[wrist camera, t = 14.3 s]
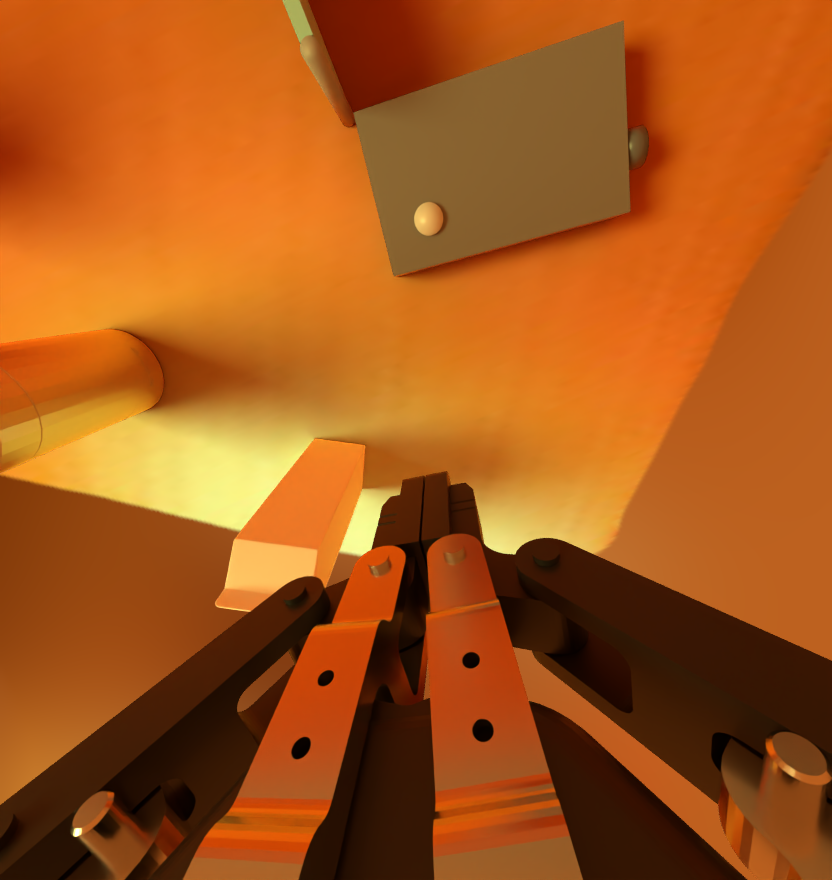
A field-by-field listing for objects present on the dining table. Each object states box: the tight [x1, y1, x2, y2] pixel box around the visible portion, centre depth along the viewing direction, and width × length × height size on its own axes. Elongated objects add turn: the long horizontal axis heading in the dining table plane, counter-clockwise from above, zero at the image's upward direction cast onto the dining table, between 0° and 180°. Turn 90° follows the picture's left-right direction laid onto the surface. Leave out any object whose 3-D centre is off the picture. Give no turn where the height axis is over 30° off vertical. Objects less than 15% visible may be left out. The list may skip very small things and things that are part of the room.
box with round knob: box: [353, 20, 649, 277], centre depth 32 cm, size 22×12×4 cm, turn 104°
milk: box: [215, 438, 365, 612], centre depth 35 cm, size 6×6×22 cm
